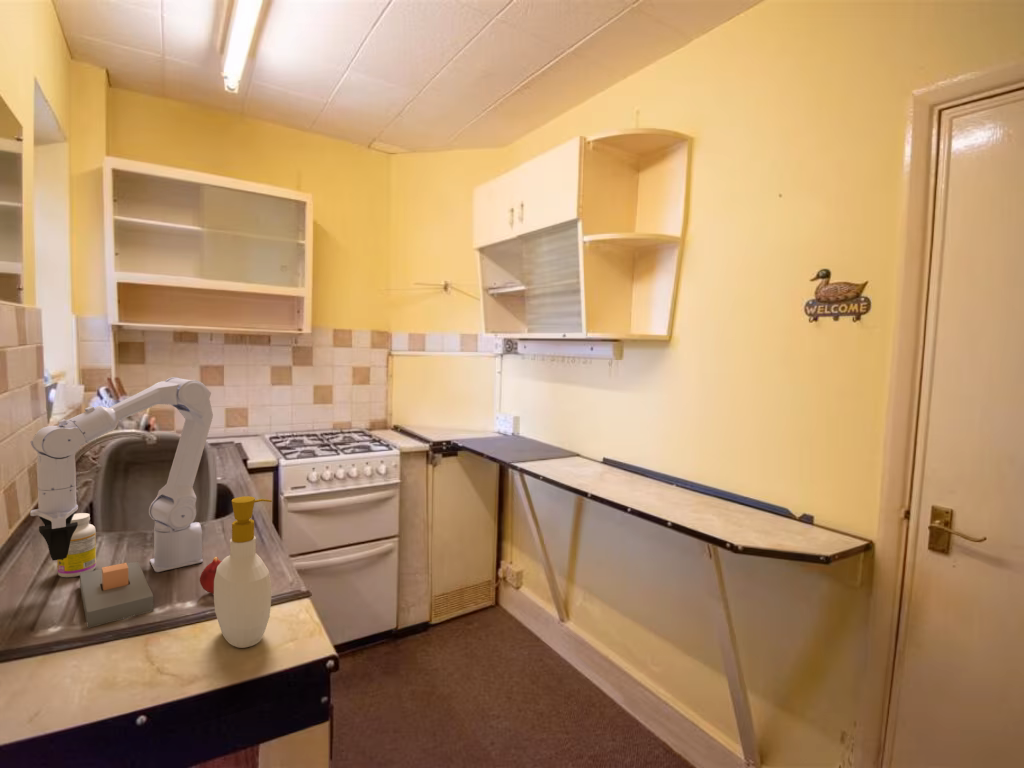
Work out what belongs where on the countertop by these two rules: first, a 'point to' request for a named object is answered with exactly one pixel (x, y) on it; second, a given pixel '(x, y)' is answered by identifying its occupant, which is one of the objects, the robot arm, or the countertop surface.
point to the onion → (209, 575)
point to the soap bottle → (242, 582)
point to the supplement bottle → (80, 549)
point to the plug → (114, 576)
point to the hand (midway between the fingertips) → (59, 552)
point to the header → (115, 596)
